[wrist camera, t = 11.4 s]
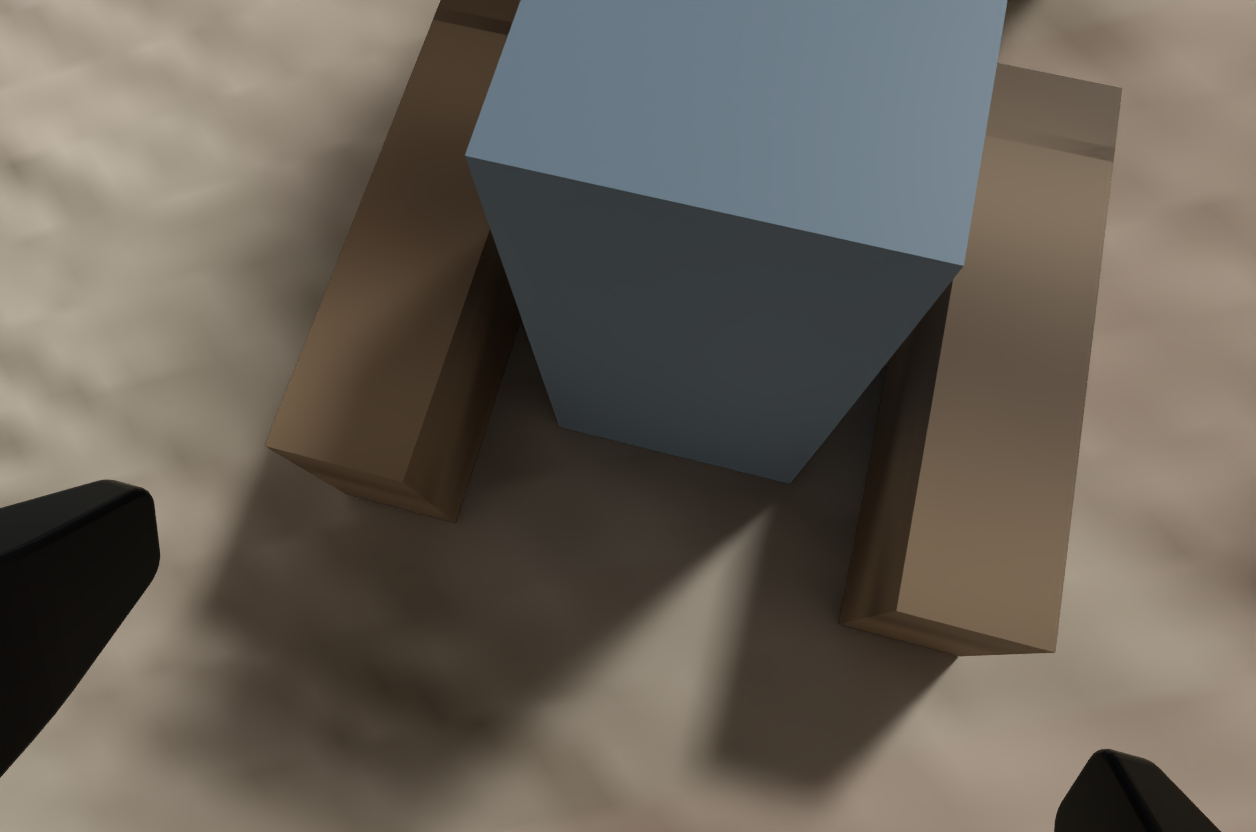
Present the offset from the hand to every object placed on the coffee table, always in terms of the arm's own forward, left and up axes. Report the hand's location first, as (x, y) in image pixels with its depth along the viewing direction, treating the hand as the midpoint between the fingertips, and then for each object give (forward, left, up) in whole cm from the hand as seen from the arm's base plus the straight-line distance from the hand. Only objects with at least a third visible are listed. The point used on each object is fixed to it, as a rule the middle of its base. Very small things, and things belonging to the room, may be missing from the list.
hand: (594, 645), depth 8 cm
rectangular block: (+6, +1, -9) cm, 11 cm away
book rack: (+6, +1, -9) cm, 11 cm away
